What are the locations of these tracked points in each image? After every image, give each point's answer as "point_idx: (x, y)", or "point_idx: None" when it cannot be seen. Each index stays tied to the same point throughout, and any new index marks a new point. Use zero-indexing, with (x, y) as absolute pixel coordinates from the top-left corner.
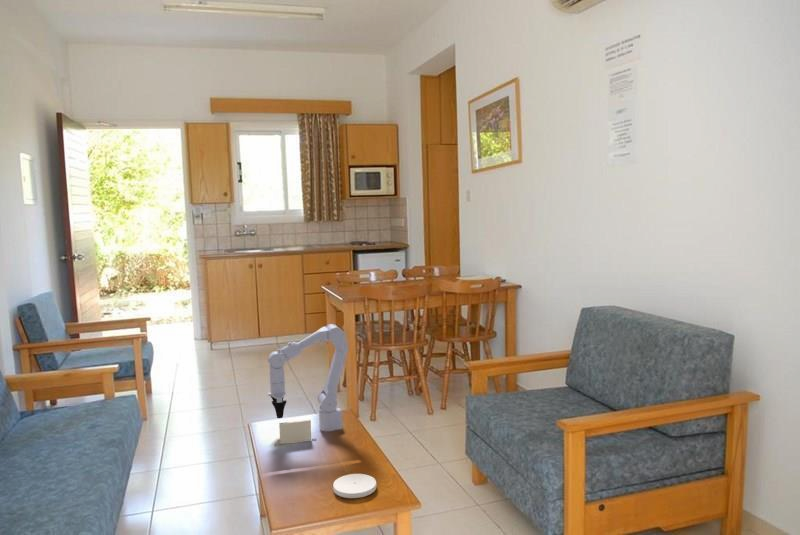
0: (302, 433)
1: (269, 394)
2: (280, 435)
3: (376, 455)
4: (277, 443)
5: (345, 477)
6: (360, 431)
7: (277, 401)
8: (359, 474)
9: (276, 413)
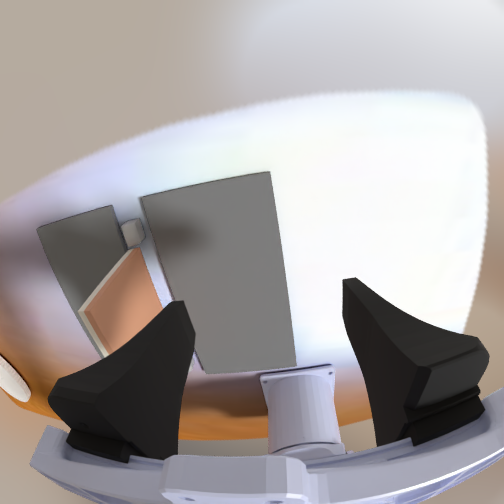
0: None
1: (163, 491)
2: (110, 273)
3: None
4: (126, 237)
5: (7, 374)
6: (266, 437)
7: (44, 438)
8: (23, 392)
9: (147, 326)
